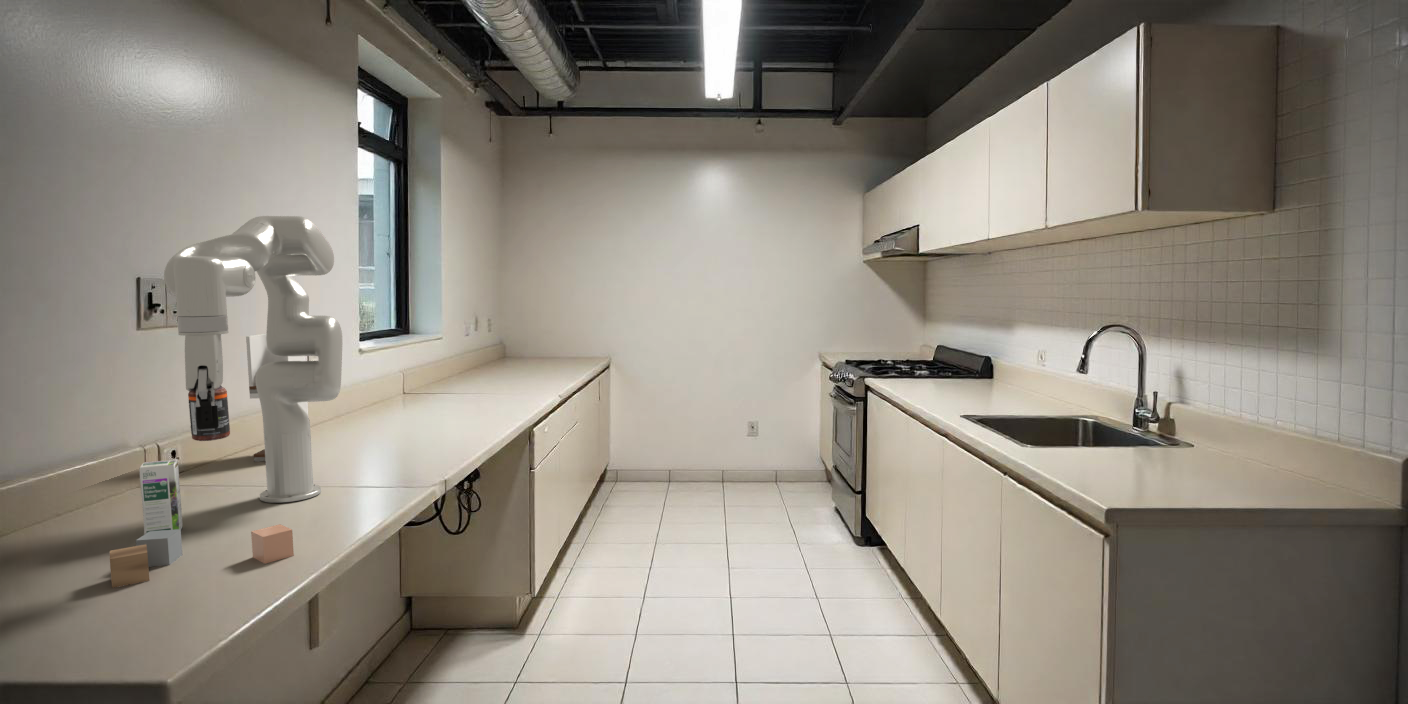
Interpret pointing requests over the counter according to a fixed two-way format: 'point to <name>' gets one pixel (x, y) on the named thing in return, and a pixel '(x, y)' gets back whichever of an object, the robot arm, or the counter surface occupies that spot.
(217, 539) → the counter surface
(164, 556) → the slate grey block
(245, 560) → the counter surface
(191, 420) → the supplement bottle
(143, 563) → the walnut block
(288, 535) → the terracotta block
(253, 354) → the display case
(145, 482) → the syrup box
